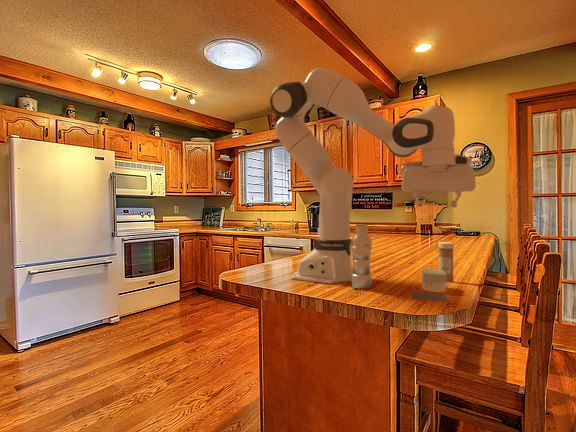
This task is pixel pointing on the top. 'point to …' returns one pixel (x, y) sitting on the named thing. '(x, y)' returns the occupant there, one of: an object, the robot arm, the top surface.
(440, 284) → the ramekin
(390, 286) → the top surface
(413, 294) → the mat
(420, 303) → the top surface
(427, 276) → the cover
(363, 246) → the plastic bottle
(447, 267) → the sprinkles bottle
